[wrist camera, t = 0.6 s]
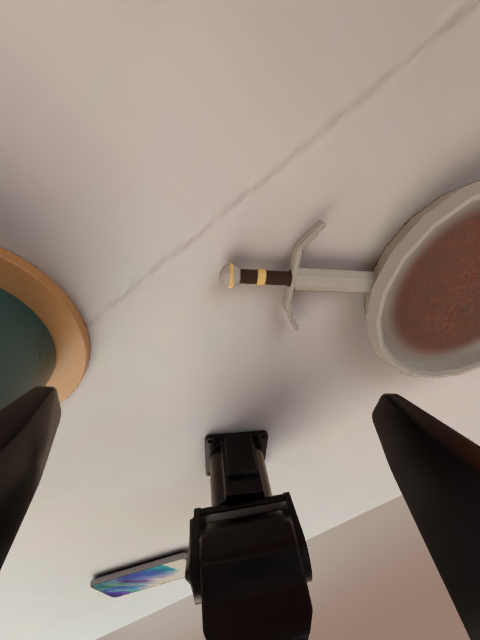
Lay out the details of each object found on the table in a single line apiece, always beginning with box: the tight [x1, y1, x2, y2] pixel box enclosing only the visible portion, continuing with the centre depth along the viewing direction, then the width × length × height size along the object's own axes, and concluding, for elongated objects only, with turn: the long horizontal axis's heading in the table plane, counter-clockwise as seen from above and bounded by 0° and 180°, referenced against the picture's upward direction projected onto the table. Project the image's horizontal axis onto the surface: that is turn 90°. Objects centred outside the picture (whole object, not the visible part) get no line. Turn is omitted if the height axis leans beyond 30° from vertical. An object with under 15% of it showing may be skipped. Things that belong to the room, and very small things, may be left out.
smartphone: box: [90, 552, 188, 597], centre depth 44 cm, size 7×1×15 cm
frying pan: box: [219, 180, 480, 378], centre depth 22 cm, size 17×3×28 cm
